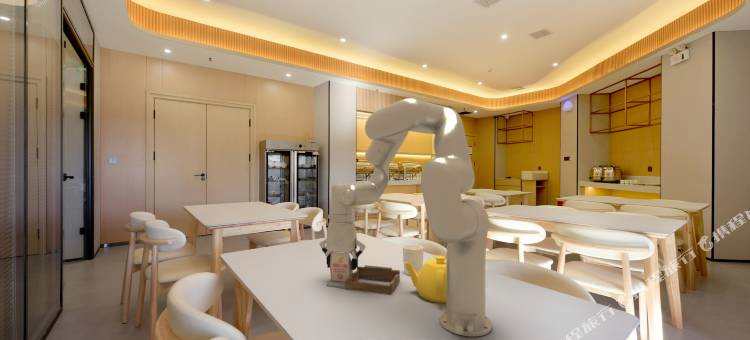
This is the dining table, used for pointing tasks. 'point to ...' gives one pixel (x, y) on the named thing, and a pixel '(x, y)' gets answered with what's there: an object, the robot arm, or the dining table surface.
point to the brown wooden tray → (373, 274)
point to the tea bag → (340, 266)
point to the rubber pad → (336, 284)
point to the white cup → (413, 257)
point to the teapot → (430, 279)
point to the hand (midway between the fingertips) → (342, 267)
